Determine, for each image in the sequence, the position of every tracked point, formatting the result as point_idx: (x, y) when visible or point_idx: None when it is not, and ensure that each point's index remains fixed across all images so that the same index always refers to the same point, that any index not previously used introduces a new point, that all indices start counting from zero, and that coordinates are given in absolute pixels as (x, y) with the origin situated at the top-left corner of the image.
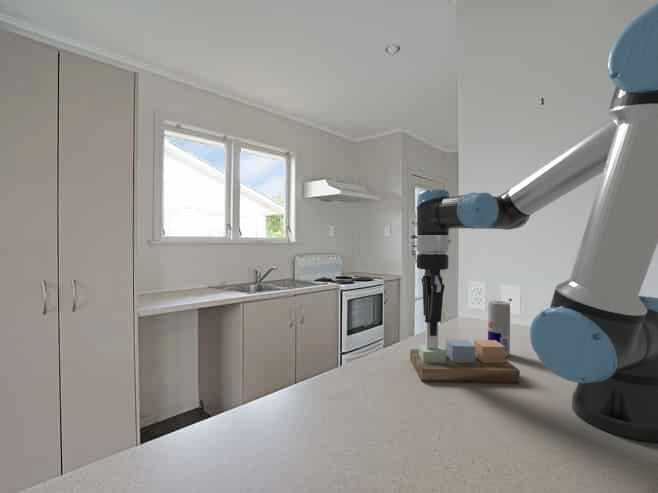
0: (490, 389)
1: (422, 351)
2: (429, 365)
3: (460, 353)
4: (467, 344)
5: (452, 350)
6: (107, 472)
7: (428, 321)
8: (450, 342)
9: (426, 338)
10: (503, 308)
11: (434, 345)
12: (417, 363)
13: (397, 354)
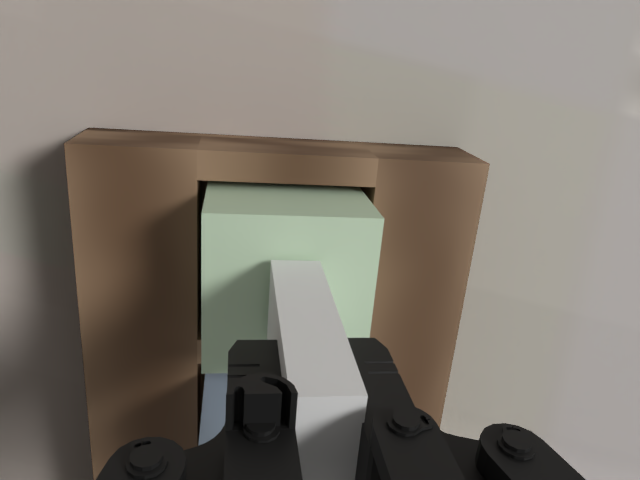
0: (30, 445)
1: (234, 211)
2: (138, 215)
3: None
4: None
5: (205, 421)
6: None
7: (226, 418)
8: None
9: (296, 294)
10: None
11: (268, 326)
12: (222, 147)
13: (576, 83)
